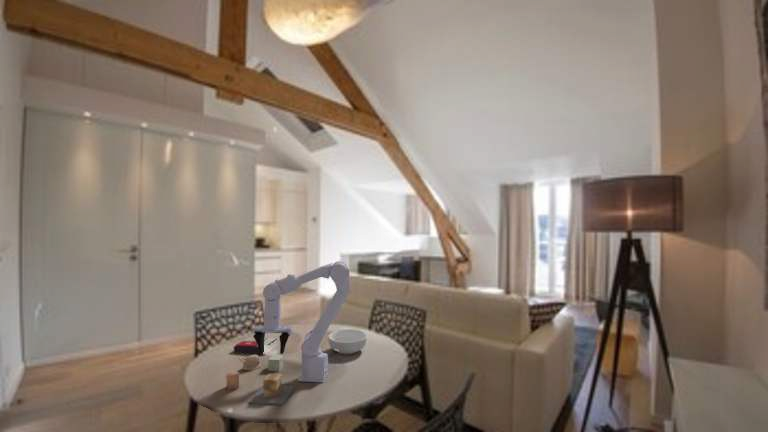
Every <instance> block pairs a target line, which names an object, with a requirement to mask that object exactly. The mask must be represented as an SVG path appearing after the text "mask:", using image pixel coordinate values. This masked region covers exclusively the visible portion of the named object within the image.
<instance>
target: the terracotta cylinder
mask: <svg viewBox="0 0 768 432" xmlns="http://www.w3.org/2000/svg"><path fill="white" fill-rule="evenodd" d="M225 382H226V384H225V385H226V387H225V388H226V390H227V391H235V390H237V389H239V387H240V372H239V371H231V372H229V373H227V374H226V380H225Z"/></svg>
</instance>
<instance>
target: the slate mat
mask: <svg viewBox="0 0 768 432" xmlns="http://www.w3.org/2000/svg"><path fill="white" fill-rule="evenodd" d="M294 389H295V386H293V385H282V391H281V392H280V394H279V395H278V396H277V397H263V385H262V386H261V387H260V388H259V390H257V392H256V393H255V394H253V396H252V397H251V399H249V401H248V404H252V403H254V404H255V405H272V406H273V405H275V406H283V405H284V403H285V402H286V401H287V399H288V398H289V396H290V395H291V394H292V393H293V391H294Z"/></svg>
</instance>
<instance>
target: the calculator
mask: <svg viewBox="0 0 768 432" xmlns="http://www.w3.org/2000/svg"><path fill="white" fill-rule="evenodd" d="M275 340H277V341H278V339H277V338H273V337H270V338H268V337H265V338H264V345H270V344H271V343H273V342H274V341H275ZM233 352H234V353H235V354H247V355H248V354H249V355H257V356H264V355H263V353H260V351H259V347H258V344H257V342H256V340H255V339H254V337H246V338H245V339H244V340H242V341H240V342H238V343H236V344H235V346H233Z"/></svg>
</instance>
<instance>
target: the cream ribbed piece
mask: <svg viewBox="0 0 768 432" xmlns="http://www.w3.org/2000/svg"><path fill="white" fill-rule="evenodd" d="M238 359H239V361H240V362H242V363H243V364H242V365H243V366H242V368H241V369H242V370H244V371H254V370H255V371H256V370H257V369H258V368H260V367H261V361H260V356H259V355H256V354H249V355H248V356H246V357H243V356H241V357H239V358H238Z"/></svg>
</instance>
